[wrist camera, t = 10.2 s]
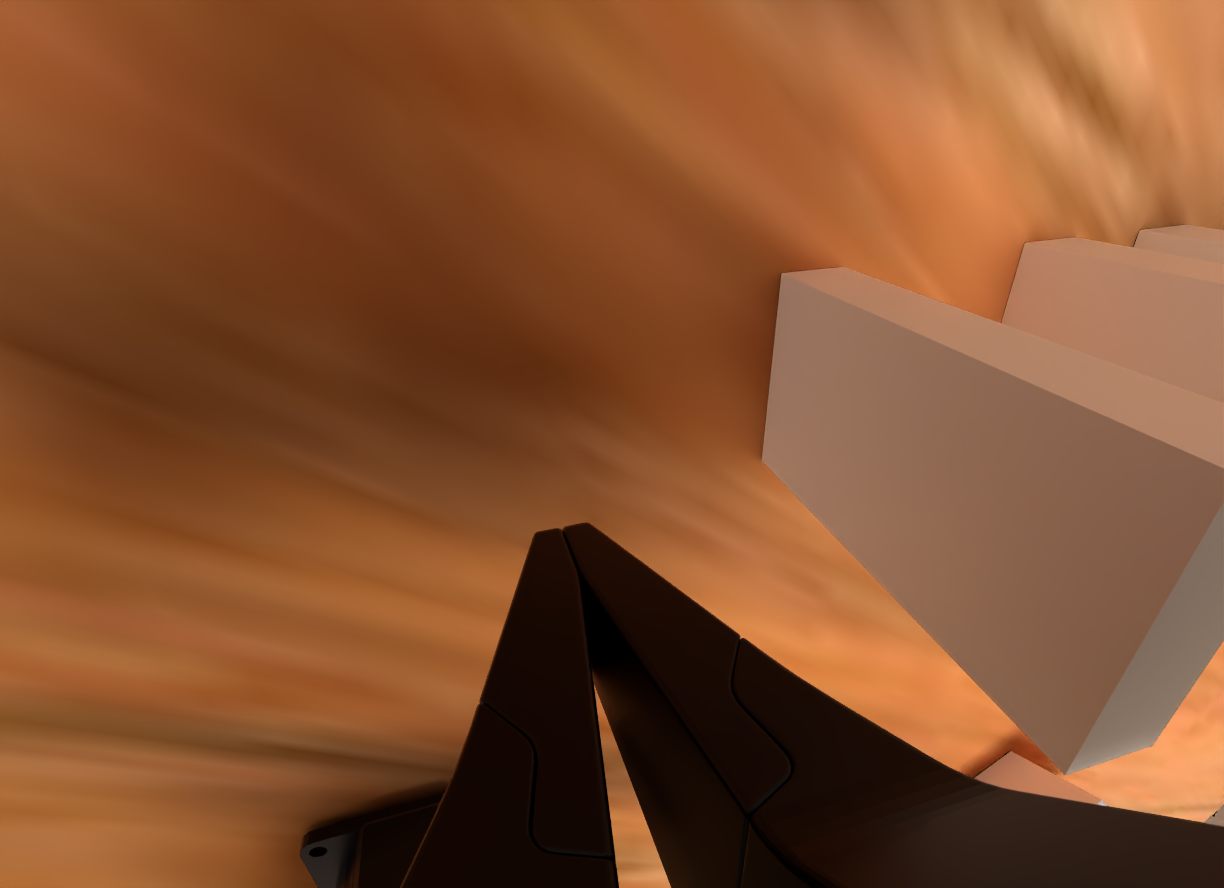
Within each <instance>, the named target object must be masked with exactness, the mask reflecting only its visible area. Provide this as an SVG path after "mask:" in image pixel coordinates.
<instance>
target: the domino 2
mask: <svg viewBox="0 0 1224 888" xmlns="http://www.w3.org/2000/svg"><path fill="white" fill-rule="evenodd" d="M1001 323H1002V324H1005V325H1007V326H1010V327H1013V328H1016V329H1018V330H1021V331H1024V332H1027V333H1030V334H1032V335H1035V336H1038V337H1041V338H1044V339H1046V340H1049V341H1052V342H1055V343H1057V344H1060V345H1063V346H1066V347H1069V348H1071V349H1074V350H1077V351H1080V352H1083V353H1085V354H1088V355H1091V356H1094V357H1096V358H1099V359H1102V360H1105V361H1108V362H1110V363H1113V364H1116V365H1119V366H1122V367H1124V368H1127V369H1130V370H1133V371H1135V372H1138V373H1141V374H1144V375H1147V376H1149V377H1152V378H1155V379H1158V380H1161V381H1163V382H1166V383H1169V384H1172V385H1174V386H1177V387H1180V388H1183V389H1186V390H1188V391H1191V392H1194V393H1197V394H1200V395H1202V396H1205V397H1208V398H1211V399H1213V400H1216V401H1219V402H1222V403H1224V264H1221V263H1215V262H1210V261H1205V260H1199V259H1194V258H1188V257H1183V256H1177V255H1172V254H1166V253H1161V252H1155V251H1150V250H1144V249H1139V248H1134V247H1128V246H1123V245H1117V244H1112V243H1106V242H1101V241H1095V240H1090V239H1084V238H1079V237H1071V238H1062V239H1053V240H1044V241H1035V242H1026V243H1025V244H1024V247H1023V251H1022V254H1021V258H1020V261H1019V264H1018V268H1017V271H1016V275H1015V278H1014V281H1013V285H1012V288H1011V292H1010V295H1009V298H1008V302H1007V305H1006V309H1005V312H1004V315H1003V319H1002V322H1001Z"/></svg>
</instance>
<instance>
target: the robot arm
mask: <svg viewBox="0 0 1224 888" xmlns="http://www.w3.org/2000/svg"><path fill="white" fill-rule="evenodd" d="M594 685H595V687H596V690H597V693H598V695H599V698H600V701H601V703H602V706H603V709H604V711H605V714H606V716H607V719H608V722H609V724H610V727H611V730H612V732H613V735H614V738H615V740H616V743H617V745H618V748H619V751H620V753H621V756H622V759H623V761H624V764H625V767H626V769H627V772H628V775H629V777H630V780H631V782H632V785H633V788H634V790H635V793H636V796H637V798H638V801H639V804H640V806H641V809H642V811H643V814H644V817H645V819H646V822H647V825H648V827H649V830H650V833H651V835H652V838H653V841H654V843H655V846H656V848H657V851H658V854H659V856H660V859H661V862H662V864H663V867H664V870H665V872H666V875H667V877H668V880H669V883H670V885H671V888H1224V826H1220V825H1214V824H1208V823H1202V822H1196V821H1190V820H1185V819H1179V818H1173V817H1167V816H1161V815H1156V814H1150V813H1144V812H1138V811H1132V810H1126V809H1121V808H1115V807H1109V806H1103V805H1097V804H1092V803H1086V802H1080V801H1074V800H1068V799H1063V798H1057V797H1051V796H1045V795H1039V794H1033V793H1028V792H1022V791H1016V790H1011V789H1006V788H1002V787H998V786H995V785H991V784H988V783H985V782H982V781H980V780H977V779H975V778H972V777H969V776H967V775H965V774H963V773H960V772H958V771H956V770H954V769H952V768H950V767H948V766H946V765H944V764H942V763H941V762H939V761H937V760H935V759H933V758H932V757H930V756H928V755H926V754H925V753H923V752H921V751H920V750H918V749H916V748H915V747H913V746H911V745H910V744H908V743H906V742H905V741H903V740H901V739H900V738H898V737H896V736H895V735H893V734H891V733H890V732H888V731H886V730H885V729H883V728H881V727H880V726H878V725H876V724H875V723H873V722H871V721H870V720H868V719H866V718H865V717H863V716H861V715H860V714H858V713H856V712H855V711H853V710H851V709H850V708H848V707H846V706H845V705H843V704H841V703H840V702H838V701H836V700H835V699H833V698H832V697H830V696H828V695H827V694H825V693H824V692H822V691H820V690H819V689H817V688H816V687H814V686H813V685H811V684H809V683H808V682H806V681H805V680H803V679H801V678H800V677H798V676H797V675H795V674H794V673H792V672H791V671H790V670H788V669H787V668H785V667H784V666H782V665H781V664H780V663H778V662H777V661H775V660H774V659H772V658H771V657H770V656H768V655H767V654H765V653H764V652H763V651H761V650H760V649H759V648H757V647H756V646H755V645H753V644H752V643H750V642H749V641H748V640H746V639H745V638H742V639H740V635H739V634H738V633H737V632H735V631H734V630H733V629H731V628H730V627H729V626H727V625H726V624H725V623H723V622H722V621H721V620H719V619H718V618H717V617H715V616H714V615H712V614H711V613H710V612H708V611H707V610H706V609H704V608H703V607H702V606H700V605H699V604H698V603H696V602H695V601H694V600H692V599H691V598H690V597H688V596H687V595H686V594H684V593H683V592H682V591H680V590H679V589H678V588H676V587H675V586H673V585H672V584H671V583H669V582H668V581H667V580H665V579H664V578H663V577H661V576H660V575H659V574H657V573H656V572H655V571H653V570H652V569H651V568H649V567H648V566H647V565H645V564H644V563H643V562H641V561H640V560H639V559H637V558H636V557H634V556H633V555H632V554H630V553H629V552H628V551H626V550H625V549H624V548H622V547H621V546H620V545H618V544H617V543H616V542H614V541H613V540H612V539H610V538H609V537H608V536H606V535H605V534H604V533H602V532H601V531H600V530H598V529H597V528H596V527H594V526H593V525H591V524H590V523H580V524H575V525H570V526H566V527H564V528H563V531H562V530H561V529H559V528H555V529H549V530H544V531H539V532H536V533H535V534H534V536H533V539H532V542H531V545H530V548H529V551H528V554H527V557H526V560H525V563H524V566H523V569H522V572H521V575H520V578H519V581H518V584H517V587H516V590H515V594H514V597H513V600H512V603H511V606H510V609H509V612H508V615H507V618H506V621H505V624H504V627H503V630H502V633H501V636H500V639H499V642H498V645H497V648H496V651H495V654H494V657H493V660H492V664H491V667H490V670H489V673H488V676H487V679H486V682H485V685H484V688H483V691H482V694H481V697H480V704H479V705H478V706H477V708H476V711H475V714H474V717H473V720H472V723H471V726H470V729H469V732H468V735H467V738H466V740H465V743H464V746H463V749H462V751H461V754H460V757H459V759H458V762H457V765H456V768H455V770H454V772H453V775H452V777H451V779H450V782H449V784H448V786H447V788H446V791H445V793H444V794H441V795H437V796H434V797H430V798H427V799H423V800H419V801H416V802H412V803H409V804H405V805H401V806H398V807H394V808H391V809H387V810H383V811H380V812H376V813H373V814H369V815H365V816H362V817H358V818H355V819H351V820H347V821H344V822H340V823H337V824H333V825H329V826H326V827H322V828H319V829H315V830H313V831H310V832H308V833H307V834H306V835H305V836H304V837H303V839H302V844H301V850H300V857H301V859H302V861H303V862H304V864H305V866H306V867H307V869H308V871H309V873H310V874H311V876H312V878H313V880H314V881H315V883H316V885H317V887H318V888H619V883H618V875H617V868H616V860H615V851H614V843H613V835H612V827H611V819H610V811H609V803H608V795H607V787H606V779H605V771H604V763H603V755H602V747H601V739H600V730H599V722H598V714H597V706H596V698H595V690H594Z"/></svg>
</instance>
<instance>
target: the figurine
mask: <svg viewBox="0 0 1224 888" xmlns="http://www.w3.org/2000/svg"><path fill="white" fill-rule="evenodd" d="M975 779H977V780H980V781H982V782H985V783H988V784H991V785H995V786H998V787H1002V788H1006V789H1011V790H1016V791H1022V792H1028V793H1033V794H1039V795H1045V796H1051V797H1057V798H1063V799H1068V800H1074V801H1080V802H1086V803H1092V804H1097V805H1103V806H1107V805H1106V804H1105V803H1104V802H1103V801H1102V800H1101V799H1099V798H1097V797H1096V796H1094V795H1092V794H1090V793H1088V792H1086V791H1084V790H1083V789H1081V788H1079V787H1077V786H1075V785H1073V784H1071V783H1070V782H1068V781H1066V780H1064V779H1062V778H1060V777H1058V776H1057V775H1055V774H1053V773H1051V772H1049V771H1047V770H1045V769H1044V768H1042V767H1040V766H1038V765H1036V764H1034V763H1032V762H1031V761H1029V760H1027V759H1025V758H1023V757H1021V756H1019V755H1018V754H1016V753H1014V752H1012V751H1010V752H1009V753H1008V754H1006V755H1005V756H1003V757H1002V758H1001V759H999V760H998V761H997V762H995V763H994V764H993V765H991V766H990V767H988V768H987V769H986V770H984V771H983V772H982V773H980V774H979V775H978V776H976V777H975Z"/></svg>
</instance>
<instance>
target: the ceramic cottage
mask: <svg viewBox="0 0 1224 888" xmlns="http://www.w3.org/2000/svg"><path fill="white" fill-rule="evenodd" d="M1217 811H1218V812H1217V813H1216V814H1215V817H1213V816H1211V817H1210V818H1209V819H1208V820H1207V821H1206V822H1205V823H1208V824H1214V825H1220V826H1224V805H1223V806H1222V807H1221V808H1220V809H1218V810H1217Z"/></svg>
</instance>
